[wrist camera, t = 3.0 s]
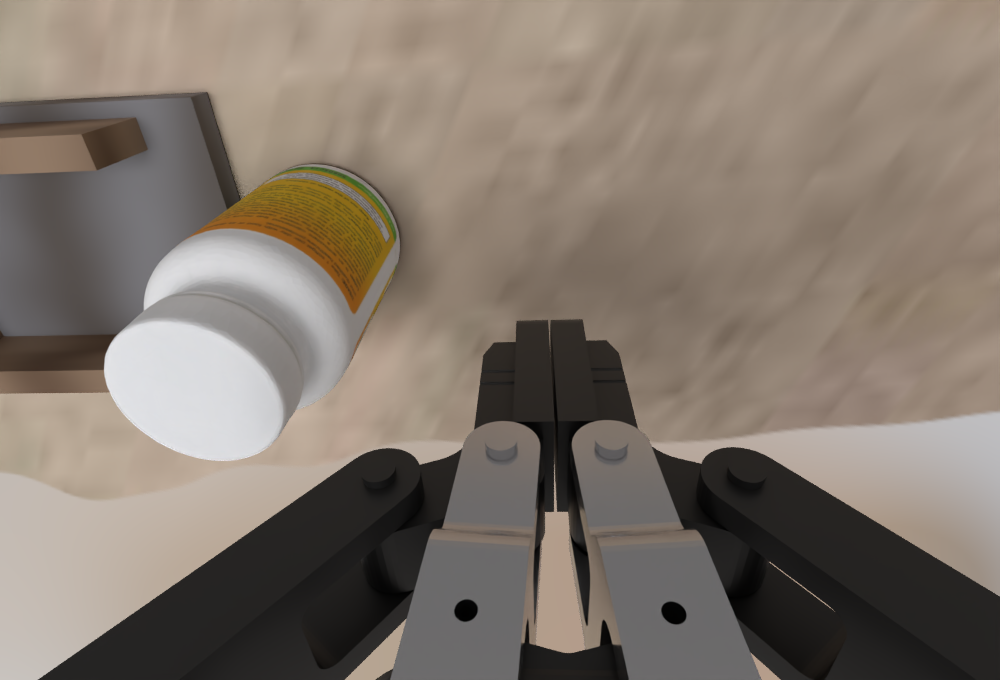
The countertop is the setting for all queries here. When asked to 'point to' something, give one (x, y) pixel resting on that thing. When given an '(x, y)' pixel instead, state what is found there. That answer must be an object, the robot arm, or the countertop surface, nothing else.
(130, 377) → the supplement bottle
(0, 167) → the u rest
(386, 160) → the countertop surface
